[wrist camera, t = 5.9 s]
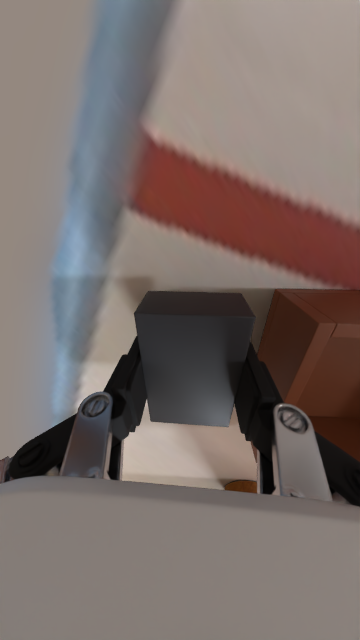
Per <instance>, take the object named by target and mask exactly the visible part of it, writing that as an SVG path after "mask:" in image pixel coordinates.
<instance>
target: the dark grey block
mask: <svg viewBox="0 0 360 640" xmlns="http://www.w3.org/2000/svg"><path fill="white" fill-rule="evenodd" d="M134 316H135V322H136V329H137V335H138V342H139V348H140V355H141V360H142V367H143V373H144V380H145V386H146V393H147V401H148V407H149V414H150V420H151V422H164V423H178V424H192V425H206V426H220V427H229V423H230V419H231V415H232V411H233V407H234V402H235V398H236V394H237V390H238V386H239V382H240V378H241V374H242V370H243V366H244V363H245V359H246V355H247V351H248V347H249V343H250V339H251V335H252V331H253V327H254V323H255V319H256V317H255V315H254V314H253V312H252V310H251V309H250V307H249V305H248V304H247V302H246V300H245V299H244V297H243V295H242V294H241V293H207V292H167V291H148V292H147V294H146V295H145V297H144V298H143V300H142V302H141V303H140V305H139V306H138V308H137V310H136V311H135V313H134Z"/></svg>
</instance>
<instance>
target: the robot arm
mask: <svg viewBox="0 0 360 640" xmlns="http://www.w3.org/2000/svg"><path fill="white" fill-rule="evenodd" d="M146 399H147V393H146V386H145V380H144V373H143V367H142V360H141V355H140V348H139V342H138V335H137V336H136V338H135V340H134V342H133V344H132V346H131V348H130V350H129V353H128V355H122V357H121V358H120V360H119V362H118V364H117V366H116V368H115V370H114V372H113V374H112V376H111V378H110V379H109V381H108V383H107V385H106V387H105V389H104V391H103V392H96V393H93V394H91V395H89V396H88V397H87V398H85V399H84V400H83V402H82V403H81V404H80V406H79V408H78V412H77V413H76V414H75V415H73V416H71V417H70V418H68V419H66V420H64V421H63V422H61V423H59V424H58V425H56V426H54V427H52V428H51V429H49V430H48V431H46V432H44V433H42V434H41V435H39V436H37V437H35V438H34V439H32V440H30V441H29V442H27V443H26V444H25V445H23V446H22V448H20V449H19V450H18V451H17V453H16V454H15V455H14V456H13V457H11V458H9V457H6V458H4V459H2V460H0V640H360V462H359V461H358V460H356V459H355V458H353V457H352V456H351V455H349V454H348V453H346V452H345V451H343V450H342V449H340V448H339V447H337V446H336V445H335V444H333V443H332V442H330V441H329V440H327V439H326V438H324V437H323V436H321V435H320V434H319V433H317V432H316V431H314V429H313V425H312V423H311V421H310V419H309V417H308V416H307V415H306V414H305V413H304V412H303V411H302V410H301V409H299V408H298V407H296V406H294V405H292V404H288V403H284V401H283V399H282V397H281V395H280V393H279V391H278V389H277V387H276V385H275V383H274V381H273V379H272V376H271V374H270V372H269V370H268V368H267V366H266V364H265V362H263V361H259V359H258V357H257V355H256V352H255V350H254V348H253V346H252V344H251V341H250V343H249V347H248V351H247V355H246V359H245V363H244V366H243V370H242V374H241V378H240V382H239V386H238V390H237V394H236V398H235V402H234V403H235V408H236V412H237V417H238V422H239V427H240V431H241V433H242V434H245V438H246V441H252V444H253V446H254V447H255V448H256V449H257V493H248V492H238V491H228V490H217V489H207V488H196V487H185V486H175V485H164V484H153V483H142V482H131V481H122V469H123V449H124V439H125V438H126V437H127V436H128V435H129V432H135V428H136V426H139V425H140V422H141V418H142V415H143V411H144V407H145V403H146Z"/></svg>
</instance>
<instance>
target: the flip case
mask: <svg viewBox="0 0 360 640" xmlns="http://www.w3.org/2000/svg"><path fill="white" fill-rule="evenodd" d="M257 357H258V359H259V361H263V362H265V364H266V366H267V368H268V370H269V372H270V374H271V376H272V379H273V381H274V383H275V385H276V387H277V389H278V391H279V393H280V395H281V397H282V399H283V401H284V403H288V404H292V405H294V406H296V407H298V408H299V409H301V410H302V411H303V412H304V413H305V414H306V415H307V416H308V417H309V419H310V421H311V423H312V425H313V429H314V431H316V432H317V433H319V434H320V435H321V436H323V437H324V438H326V439H327V440H329V441H330V442H332V443H333V444H335V445H336V446H337V447H339V448H340V449H342V450H343V451H345V452H346V453H348V454H349V455H351V456H352V457H353V458H355V459H356V460H358V461H359V462H360V290H318V289H275V292H274V296H273V299H272V303H271V307H270V310H269V314H268V317H267V321H266V325H265V328H264V332H263V336H262V339H261V343H260V346H259V350H258V354H257ZM250 442H251V445H252V449H253V453H254V456H255V460H256V463H257V449H256V448H255V447H254V446H253V444H252V441H250Z"/></svg>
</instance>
